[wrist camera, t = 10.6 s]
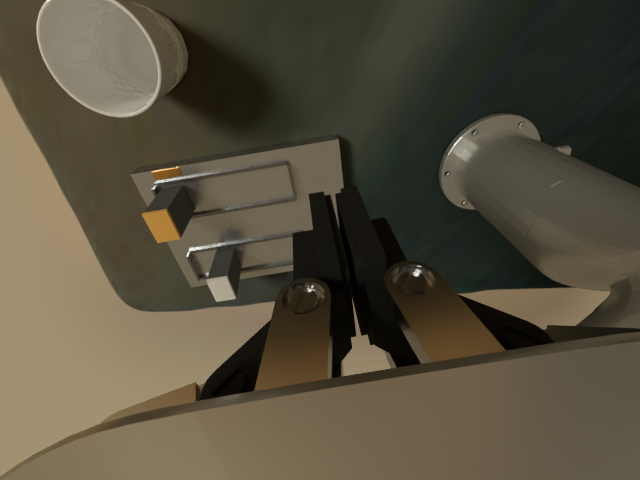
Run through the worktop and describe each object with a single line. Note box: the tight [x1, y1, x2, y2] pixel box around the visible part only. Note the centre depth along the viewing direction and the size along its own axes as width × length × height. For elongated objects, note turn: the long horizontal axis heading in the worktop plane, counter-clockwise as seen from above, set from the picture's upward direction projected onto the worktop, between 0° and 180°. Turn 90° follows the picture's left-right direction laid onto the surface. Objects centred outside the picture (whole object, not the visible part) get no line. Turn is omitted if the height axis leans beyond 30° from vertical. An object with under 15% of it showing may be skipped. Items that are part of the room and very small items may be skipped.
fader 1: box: [142, 185, 194, 243], centre depth 34 cm, size 2×4×6 cm
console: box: [130, 134, 344, 287], centre depth 40 cm, size 24×18×3 cm
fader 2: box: [206, 248, 242, 302], centre depth 40 cm, size 2×4×6 cm
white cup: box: [37, 0, 188, 117], centre depth 26 cm, size 8×8×10 cm
